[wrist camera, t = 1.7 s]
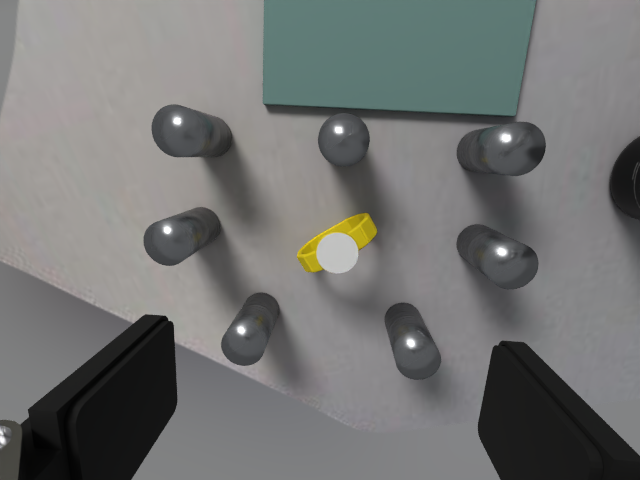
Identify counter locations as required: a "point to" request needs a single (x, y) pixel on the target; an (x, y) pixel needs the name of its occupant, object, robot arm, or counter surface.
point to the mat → (397, 54)
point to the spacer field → (344, 150)
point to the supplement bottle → (627, 180)
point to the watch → (338, 245)
